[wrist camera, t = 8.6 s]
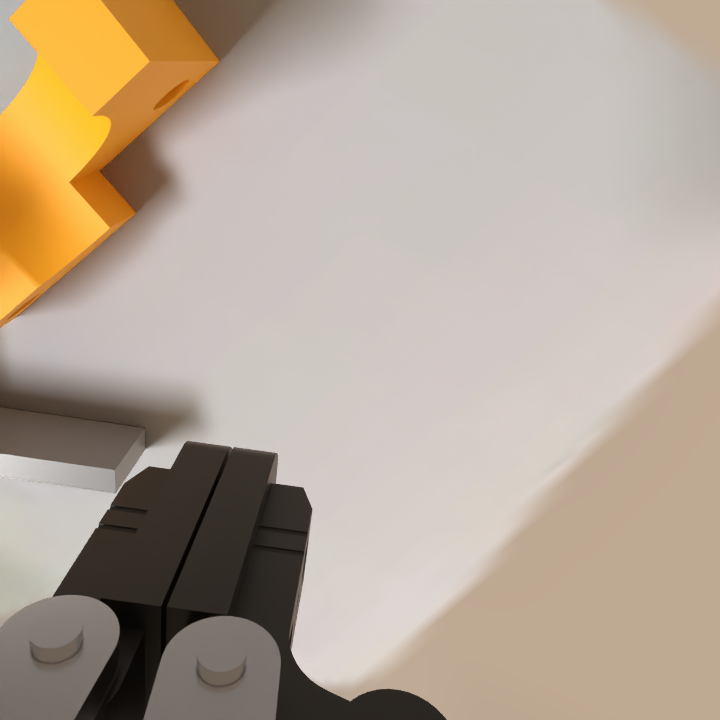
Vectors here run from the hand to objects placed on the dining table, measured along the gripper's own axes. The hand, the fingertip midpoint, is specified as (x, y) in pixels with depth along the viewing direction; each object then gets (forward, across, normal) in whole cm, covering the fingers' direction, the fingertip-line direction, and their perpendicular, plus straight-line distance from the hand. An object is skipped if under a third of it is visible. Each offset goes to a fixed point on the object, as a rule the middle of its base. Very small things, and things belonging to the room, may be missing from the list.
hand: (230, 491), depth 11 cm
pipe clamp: (+14, +8, -2) cm, 16 cm away
